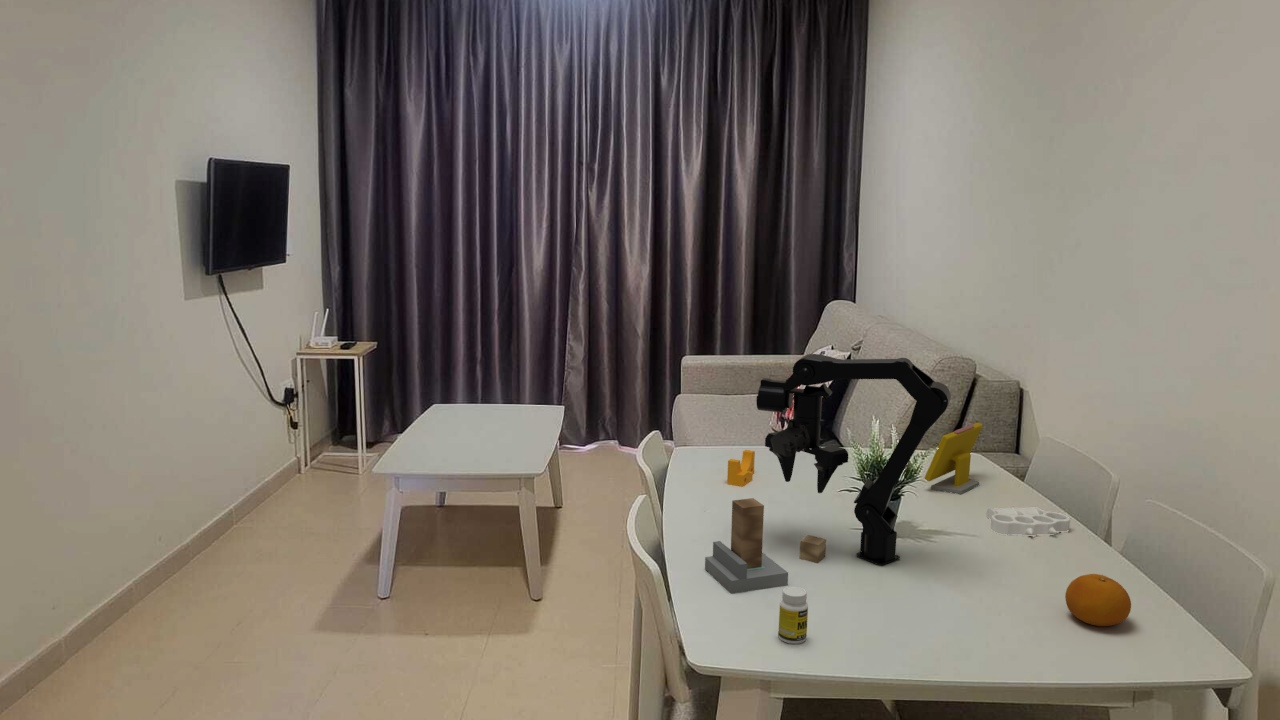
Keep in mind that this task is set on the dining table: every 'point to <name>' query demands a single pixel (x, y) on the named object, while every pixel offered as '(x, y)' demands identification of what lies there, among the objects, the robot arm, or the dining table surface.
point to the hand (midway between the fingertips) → (803, 487)
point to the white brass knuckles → (1027, 521)
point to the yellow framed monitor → (954, 460)
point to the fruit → (1098, 600)
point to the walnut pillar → (747, 531)
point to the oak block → (812, 548)
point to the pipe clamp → (741, 469)
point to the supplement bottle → (793, 615)
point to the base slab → (743, 571)
